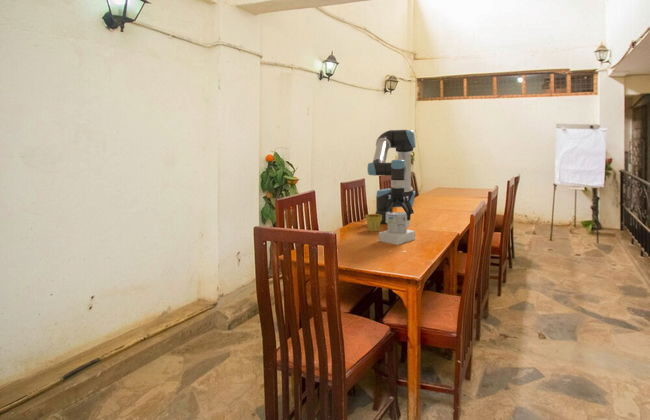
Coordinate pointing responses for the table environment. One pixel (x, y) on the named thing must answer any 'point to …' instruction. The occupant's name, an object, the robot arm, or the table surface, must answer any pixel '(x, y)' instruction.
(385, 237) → the grey plinth
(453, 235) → the table surface
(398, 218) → the light bulb box
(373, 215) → the plant pot
